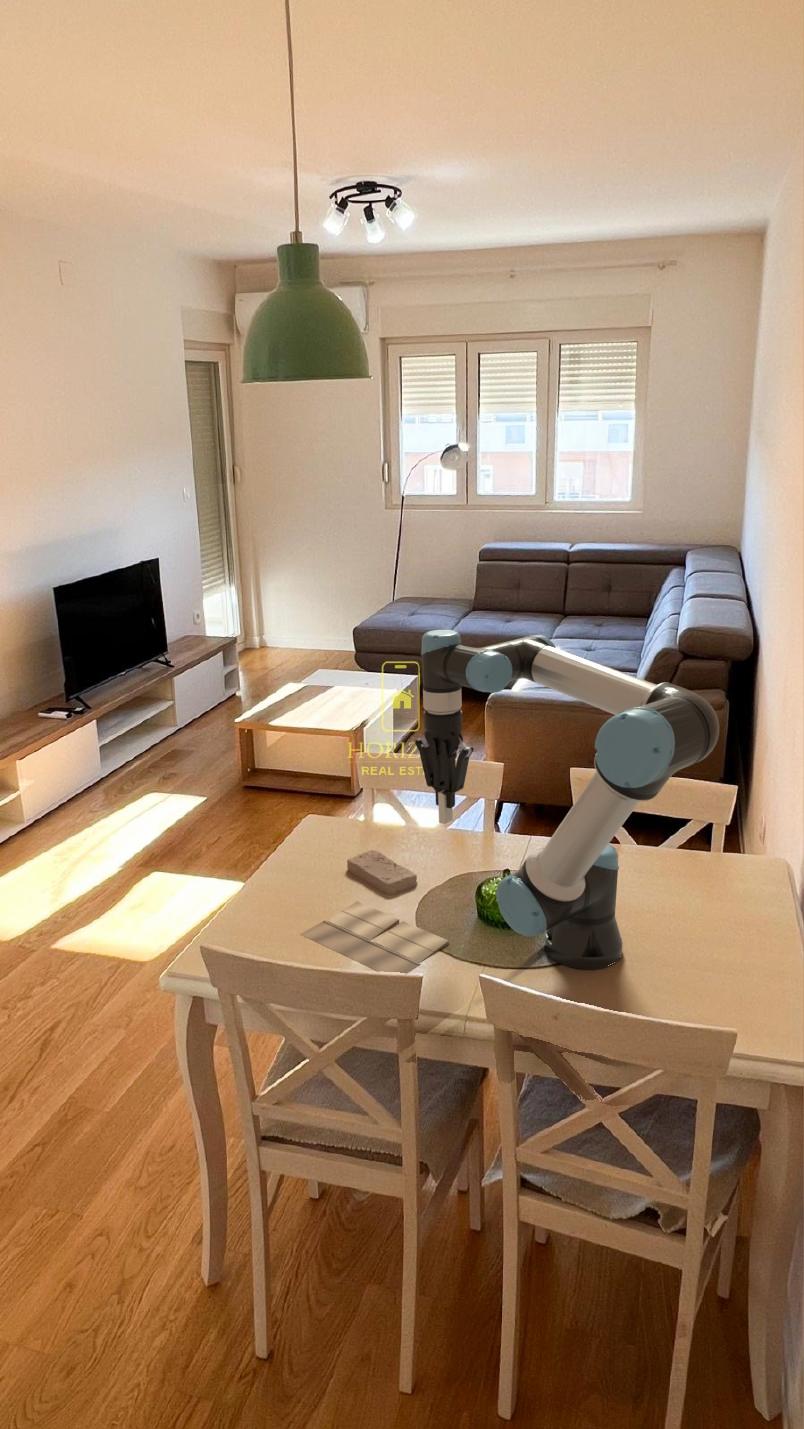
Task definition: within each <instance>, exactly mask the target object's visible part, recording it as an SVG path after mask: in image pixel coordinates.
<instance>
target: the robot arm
mask: <svg viewBox="0 0 804 1429" xmlns="http://www.w3.org/2000/svg"><path fill="white" fill-rule="evenodd" d="M420 656H421V670H422V671H421V672H422V706H423V709H424V711H423V727H424V729H425V731H424V735H423V736H422V737H419V738H418V739H415V740H414V745H415V746H416V748H417V750H418V752H419V757H420V760H421V766H422V769H423V774H424V775H423V776H424V779H425V782H426V786H427V787H431V788H433V789H434V792H435V804H436V806H438V822H439V824H443V825H446V824H449V823H450V822H451V821H452V822H453V820H454V816H453V813H454V812H453V810H454V809H453V808H454V807H455V806H456V793H458V792H459V791H462V790H463V789H464V786H465V782H466V777H467V773H468V766H469V761H470V757H471V755H472V754H473V752H474V747H473V745H470V746H468V745H467V744H466V743H465V742H464V738H463V735H462V728H463V711H462V710H461V708H462V706H463V705H462V704H463V703H462V701H463V700H462V697H463V696H462V688H463V687H465V688H469V689H472V690H475V691H478V692H482V693H492V694H494V693H495V694H496V693H500V692H502V691H503V690H504V688H506V687H507V686H508V685H509V683H510V682H512V681H516V680H520V679H525V680H528V681H531V682H533V683H536V684H538V685H541V686H544V687H546V688H548V689H551V690H553V691H556V692H558V693H561V694H563V695H566V696H568V697H569V698H570V697H571V698H573V699H576V700H578V701H580V702H583V703H585V704H588V705H590V706H592V707H594V708H598V709H600V710H602V711H604V712H607V713H610V714H612V715H614V716H612V717H610V718H609V719H608V720H606V722H604V723H603V725H602V726H601V727H600V729H599V730H598V732H597V734H596V738H595V741H594V749H595V750H596V753H595V754H594V761H593V764H594V768H595V773H594V774H593V776H592V777H591V778H590V779H589V781H588V783H587V784H586V786H585V787H584V789H582V792H581V793H580V795H579V797H578V798H577V799H576V801H575V802H574V803H573V805H572V807H571V808H570V809H569V811H568V813H567V814H566V815H565V817H564V818H563V820H562V821H561V823H560V824H559V825H558V827H557V829H556V830H555V831H554V833H553V834H552V836H551V837H550V839H549V840H548V841H547V843H546V845H545V846H544V847H540V848H536V849H535V850H533V851H531V853H529V855H528V856H527V858H526V859H525V860H524V862H523V863H522V865H521V866H520V868H518V870H517V871H516V872H515V873H513V874H509V875H506V876H505V877H504V878H503V879H501V880H500V881H499V883H498V884H497V887H496V890H495V891H496V894H495V895H496V903H497V904H498V905H497V906H498V909H499V912H500V914H501V916H502V918H503V919H504V921H505V922H506V923H507V924H508V926H509V927H510V928H511V929H512V930H513V931H514V932H516V933H518V934H519V935H521V936H524V937H528V938H529V937H534V936H535V937H536V936H537V935H540V934H542V935H543V934H545V937H544V943H545V944H544V950H545V952H546V954H547V953H548V954H547V955H548V957H550V958H551V959H552V960H554V961H555V962H557V963H558V962H559V964H560V965H563V966H566V967H569V968H574V969H578V970H599V968H600V969H604V968H603V967H605V968H607V967H606V966H608V965H610V964H612V963H614V962H616V961H617V960H618V959H619V958H620V956H621V957H622V955H623V940H622V939H623V938H622V936H621V932H620V929H619V925H618V922H617V918H616V904H617V892H618V891H617V890H618V889H617V888H618V873H619V870H620V866H619V853H618V851H617V849H616V848H615V847H614V846H613V845H612V844H610V842H612V840H613V838H614V837H615V836H616V835H617V833H618V832H619V830H620V829H621V827H622V826H623V825H624V824H625V822H626V820H628V818H629V817H630V815H631V814H632V813H633V812H634V810H635V809H636V807H637V806H638V805H639V804H640V802H648V801H650V800H653V799H654V798H656V796H658V794H659V793H660V792H661V790H662V789H663V787H664V786H665V785H666V783H667V782H668V781H669V780H670V779H671V777H672V776H673V775H675V773H677V771H680V770H683V769H684V768H687V767H690V766H692V765H695V764H698V763H699V762H701V761H702V760H704V759H706V758H707V757H708V756H709V755H710V754H711V753H713V750H714V748H715V746H716V745H717V742H718V740H719V737H720V722H719V716H718V715H717V712H716V711H715V709H714V708H713V707H712V704H710V702H709V701H708V700H706V699H705V698H704V697H702V696H701V695H699V694H698V693H695V692H693V691H692V690H689V689H687V688H684V687H682V686H678V685H676V684H674V683H670V682H667V681H666V682H665V681H664V682H661V683H659V684H656V683H653V682H650V681H648V680H645V679H642V678H640V677H636V676H634V675H631V674H628V673H626V672H622V671H620V670H616V669H614V668H612V667H609V666H606V665H603V664H600V663H598V662H595V661H593V660H589V659H586V658H584V657H581V656H578V655H575V654H573V653H570V652H569V651H568V652H567V651H565V650H562V649H559V648H556V645H555V643H554V642H552V640H551V639H550V638H549V637H548V636H546V635H544V634H535V635H531V634H530V635H526V636H523V637H521V638H516V639H511V640H509V641H505V642H499V643H495V644H491V645H486V646H482V647H471V646H467V645H462V640H461V634H460V633H459V632H458V631H456V630H453V629H435V630H429V631H427V632H425V633H424V634H423V635H422V637H421V653H420ZM456 759H457V760H456ZM621 954H622V955H621ZM620 959H621V958H620ZM620 959H619V960H620ZM619 960H618V961H619ZM618 961H617V962H618ZM617 962H616V963H617ZM614 964H615V963H614ZM608 967H609V966H608Z"/></svg>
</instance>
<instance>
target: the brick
mask: <svg viewBox="0 0 804 1429" xmlns="http://www.w3.org/2000/svg"><path fill="white" fill-rule="evenodd" d="M346 863H347V864H346V866H347V867H346V868H347V871H348V872H349V873H351V874H353V875H354V876H356V877H357V878H359V879H361V880H363V881H365V882H366V883H367V884H370V885H371V886H372V887H374V888H376V889H378V890H379V891H381V892H384V893H386V894H387V895H390V896H392V895H393V896H394V895H396V894H397V893H401V892H404V891H407V890H409V889H411V888H414V887H416V886H418V881H417V879H418V877H417V874H416V873H415V872H413V871H412V870H410V869H408V868H406V867H404V866H402V865H400V864H397V863H396V862H394V861H393V859H390V858H388V856H386V855H385V854H383V853H382V852H380V851H379V850H378V849H369V850H367V851H365V852H362V853H359V854H357V855H356V856H354V857H352V858H348V859H347V861H346Z"/></svg>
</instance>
